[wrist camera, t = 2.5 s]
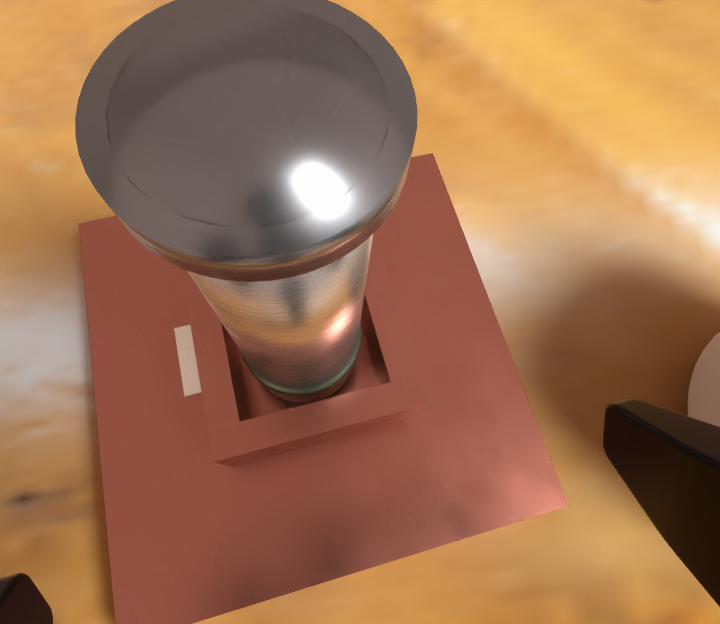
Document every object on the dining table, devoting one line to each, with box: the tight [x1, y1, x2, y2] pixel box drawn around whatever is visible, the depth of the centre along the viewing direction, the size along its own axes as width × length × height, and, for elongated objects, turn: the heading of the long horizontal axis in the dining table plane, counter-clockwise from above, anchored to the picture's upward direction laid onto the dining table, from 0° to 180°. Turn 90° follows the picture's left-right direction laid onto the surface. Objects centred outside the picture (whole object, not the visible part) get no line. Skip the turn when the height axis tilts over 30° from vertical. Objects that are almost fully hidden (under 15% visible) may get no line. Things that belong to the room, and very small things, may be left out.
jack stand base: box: [79, 153, 568, 624], centre depth 19 cm, size 16×16×4 cm
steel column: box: [75, 0, 417, 403], centre depth 13 cm, size 5×5×13 cm
